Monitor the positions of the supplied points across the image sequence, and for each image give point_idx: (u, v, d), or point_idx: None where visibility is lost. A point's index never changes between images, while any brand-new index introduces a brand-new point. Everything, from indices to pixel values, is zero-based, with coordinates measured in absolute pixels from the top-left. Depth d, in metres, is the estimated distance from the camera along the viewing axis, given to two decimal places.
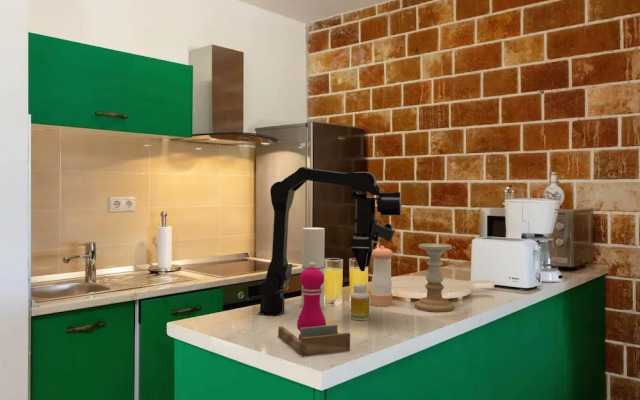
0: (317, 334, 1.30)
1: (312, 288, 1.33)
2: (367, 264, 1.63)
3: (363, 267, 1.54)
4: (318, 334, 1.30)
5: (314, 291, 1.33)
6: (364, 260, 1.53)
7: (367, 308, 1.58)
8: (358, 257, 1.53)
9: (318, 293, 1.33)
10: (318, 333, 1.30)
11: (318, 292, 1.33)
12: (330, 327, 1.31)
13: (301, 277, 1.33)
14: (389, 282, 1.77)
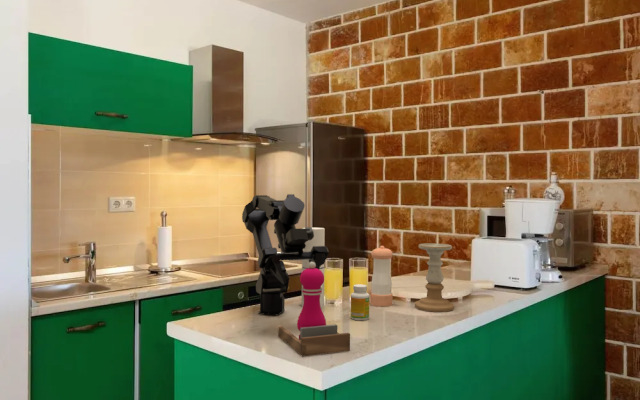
0: (317, 334, 1.30)
1: (312, 288, 1.33)
2: None
3: (281, 279, 1.41)
4: (318, 334, 1.30)
5: (314, 291, 1.33)
6: (278, 272, 1.42)
7: (367, 308, 1.58)
8: (275, 273, 1.43)
9: (318, 293, 1.33)
10: (318, 333, 1.30)
11: (318, 292, 1.33)
12: (330, 327, 1.31)
13: (301, 277, 1.33)
14: (389, 282, 1.77)
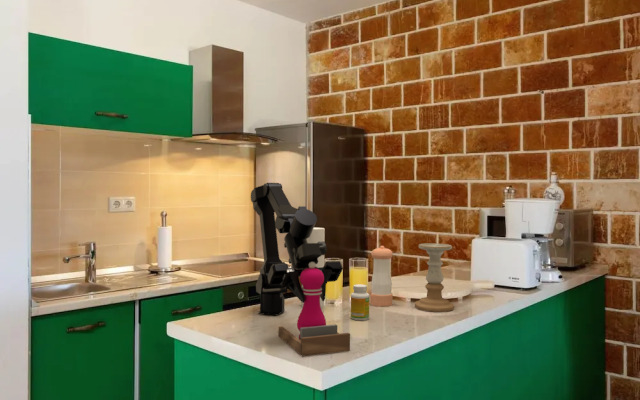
0: (317, 334, 1.30)
1: (312, 288, 1.33)
2: (322, 297, 1.35)
3: (301, 297, 1.33)
4: (318, 334, 1.30)
5: (314, 291, 1.32)
6: (297, 289, 1.34)
7: (367, 308, 1.58)
8: (294, 290, 1.35)
9: (318, 293, 1.33)
10: (318, 333, 1.30)
11: (318, 292, 1.33)
12: (330, 327, 1.31)
13: (301, 277, 1.33)
14: (389, 282, 1.77)
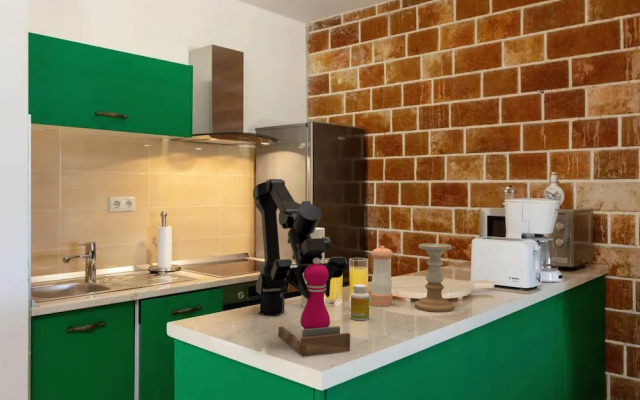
0: None
1: (316, 285, 1.30)
2: (327, 293, 1.32)
3: (305, 293, 1.30)
4: None
5: (318, 288, 1.30)
6: (300, 285, 1.31)
7: (367, 308, 1.58)
8: (298, 286, 1.33)
9: (322, 290, 1.30)
10: None
11: (322, 289, 1.31)
12: (333, 329, 1.30)
13: (305, 273, 1.31)
14: (389, 282, 1.77)
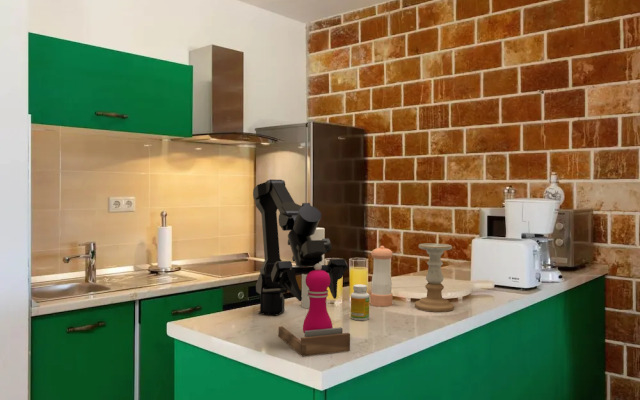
0: None
1: (318, 290, 1.29)
2: (334, 295, 1.33)
3: (298, 295, 1.29)
4: None
5: (320, 293, 1.29)
6: (293, 287, 1.30)
7: (367, 308, 1.58)
8: (291, 288, 1.32)
9: (324, 295, 1.30)
10: None
11: (324, 294, 1.30)
12: (335, 330, 1.28)
13: (307, 279, 1.30)
14: (389, 282, 1.77)
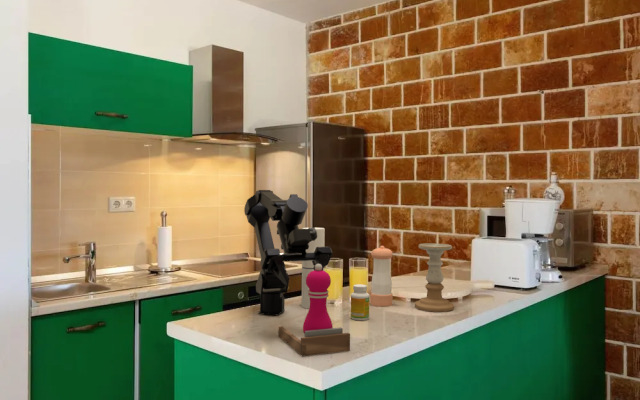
0: None
1: (318, 291, 1.29)
2: None
3: (284, 280, 1.38)
4: None
5: (321, 294, 1.29)
6: (281, 273, 1.39)
7: (367, 308, 1.58)
8: (278, 274, 1.41)
9: (325, 296, 1.30)
10: None
11: (325, 295, 1.30)
12: (335, 330, 1.28)
13: (307, 279, 1.30)
14: (389, 282, 1.77)
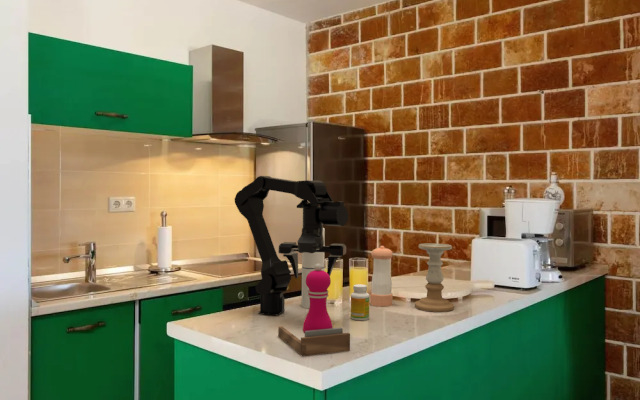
0: None
1: (318, 291, 1.29)
2: None
3: None
4: None
5: (320, 294, 1.29)
6: None
7: (367, 308, 1.58)
8: None
9: (325, 296, 1.30)
10: None
11: (324, 295, 1.30)
12: (335, 330, 1.28)
13: (307, 279, 1.30)
14: (389, 282, 1.77)
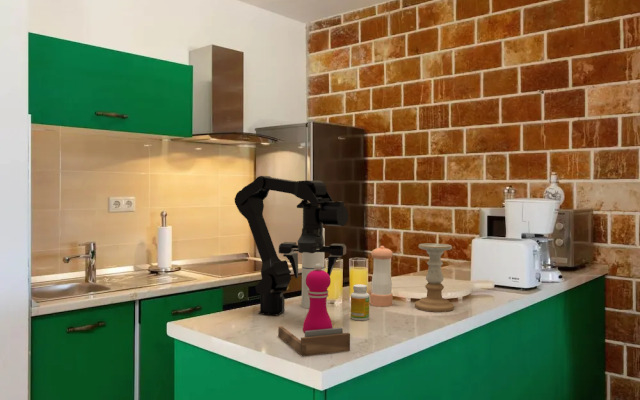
0: None
1: (318, 291, 1.29)
2: None
3: None
4: None
5: (320, 294, 1.29)
6: None
7: (367, 308, 1.58)
8: None
9: (324, 296, 1.30)
10: None
11: (324, 295, 1.30)
12: (335, 330, 1.28)
13: (307, 279, 1.30)
14: (389, 282, 1.77)
